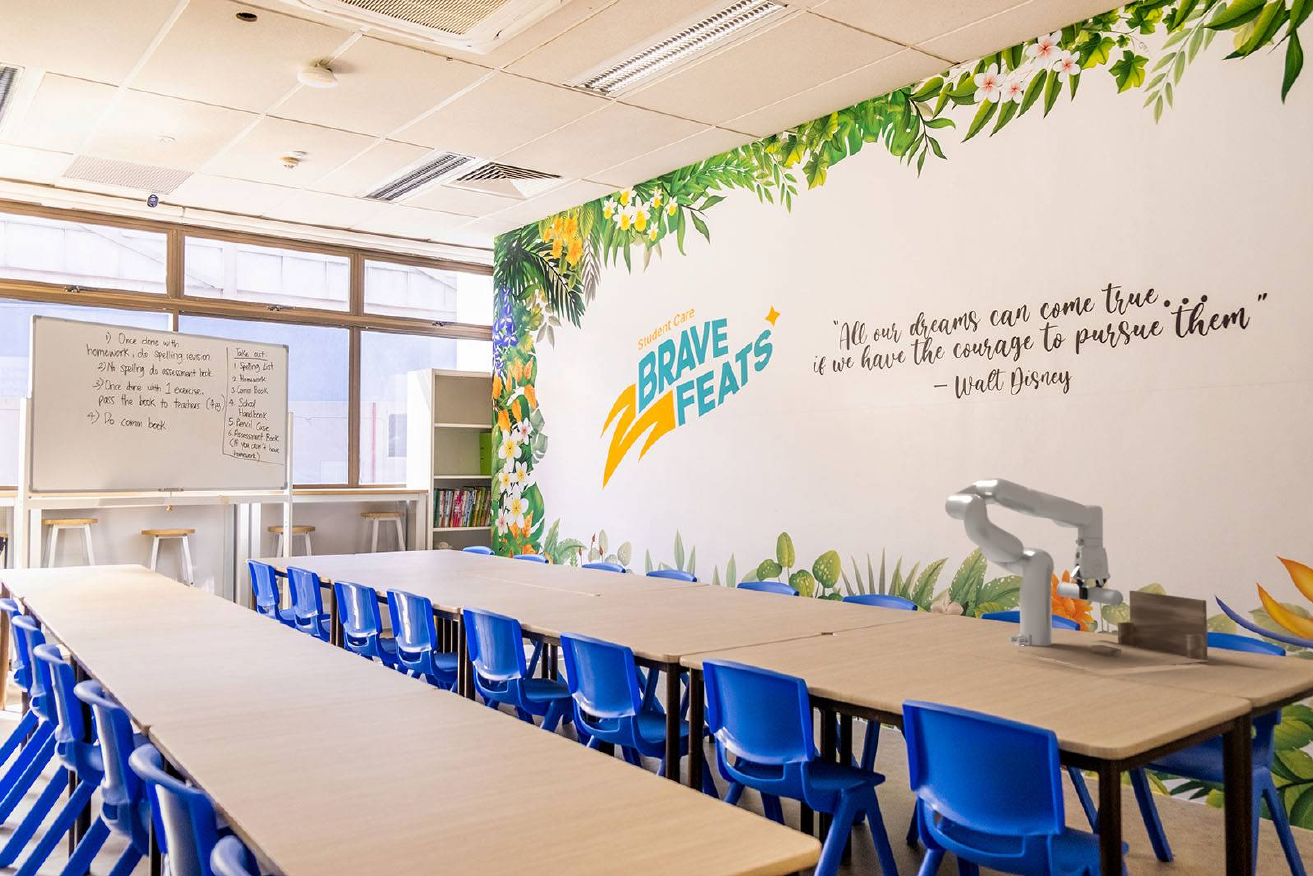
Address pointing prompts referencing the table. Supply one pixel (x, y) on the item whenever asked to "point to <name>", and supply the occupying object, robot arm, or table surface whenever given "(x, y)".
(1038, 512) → the robot arm
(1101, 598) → the tube
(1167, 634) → the wooden panel stand
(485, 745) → the table surface
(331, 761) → the table surface
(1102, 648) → the offcut top
